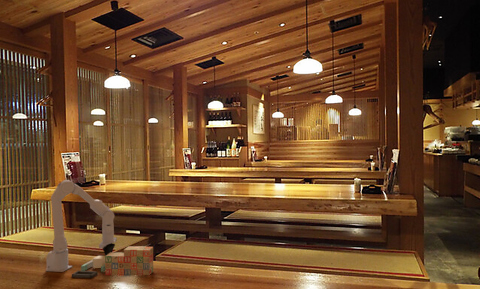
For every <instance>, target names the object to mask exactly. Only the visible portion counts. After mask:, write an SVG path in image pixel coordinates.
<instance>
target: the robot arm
mask: <svg viewBox="0 0 480 289" xmlns="http://www.w3.org/2000/svg"><path fill="white" fill-rule="evenodd" d="M70 194H72V195H78V196H79V197H81V198H82V199H83V200H84V201H86V203H88V204H89V209H91V210H92V211H93V212H94V213H95V214H97V215H98V216H100V217H101V220H102V224H101V225H102V226H101V228H102V229H101V232H102V236H101V240H102V241H101V242H100V243H99V244H98V249H102V250H103V253H104V256H106V255H108V254H109V253H112V252H113V251H114V249H115V247H116V242H117V241H118V239H117V238H118V237H115V230H114V229H115V228H114V227H115V225H114V219H115V213H114V211H112V210H111V208H110V207H109V206H107V205H105V203H104V202H103V201H102V199H95V198H93V197H92V196H91V195H89V193H88V192H86V191H85V190H84V189H83V188H82V187H81V186H79V185H78V184H76V183H74V182H73V181H72V180H71V179H70V180H69V179H64V180H62V181H60V182H59V183H58V184H57V186H56V187H55V190H54V191H53V192H52V194H51V196H50V200H51V201H50V202H51V213H52V214H51V215H52V223H53V235H54V237H53V241H52V245H53V246H52V247H53V248H52V249H53V250H51V251H49V252H48V253H47V255H46V260H45V261H46V269H45V272H58V273H59V272H60V273H63V272H65V271H67V270H69V269H71V268H72V267H73V265H69V249H68V241H67V238H66V237H65V229H64V226H65V225H64V216H63V215H64V214H63V206H62V200H63V199H64V198H66V196H68V195H70Z"/></svg>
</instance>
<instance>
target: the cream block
mask: <svg viewBox="0 0 480 289" xmlns="http://www.w3.org/2000/svg"><path fill="white" fill-rule="evenodd" d="M92 260H93V266H92V269H95V268H101V266H103V265H105V255H96V256H95V257H93V258H92Z"/></svg>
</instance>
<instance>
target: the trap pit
mask: <svg viewBox="0 0 480 289" xmlns="http://www.w3.org/2000/svg"><path fill="white" fill-rule="evenodd" d="M96 276H98V271H92V270H91V271H90V270H85V271H81V270H77V271H75V272H73V273H72V274H71V278H73V279H75V278H76V279H93V278H95V277H96Z"/></svg>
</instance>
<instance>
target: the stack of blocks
mask: <svg viewBox="0 0 480 289" xmlns="http://www.w3.org/2000/svg"><path fill="white" fill-rule="evenodd" d="M104 256H105V255H104ZM105 269H106V271H105V276H115V275H116V276H121V277H122V276H123V277H124V276H125V277H126V276H129V277H131V276H132V277H133V276H134V277H135V275H138V276H139V275H150V274H151V275H152V273H154V246H145V245H141V246H138V245H137V246H134V245H133V246H127V247H126V248H124V249H123V252H113V251H112V253H109V254H108V255H106V256H105ZM151 275H150V276H151ZM138 276H137V277H138ZM139 277H140V276H139Z"/></svg>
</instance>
